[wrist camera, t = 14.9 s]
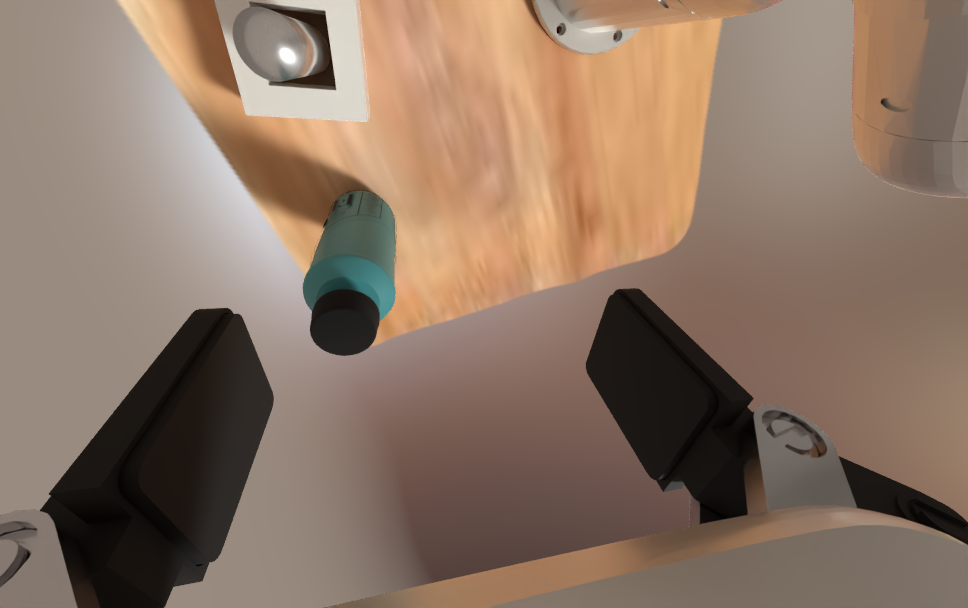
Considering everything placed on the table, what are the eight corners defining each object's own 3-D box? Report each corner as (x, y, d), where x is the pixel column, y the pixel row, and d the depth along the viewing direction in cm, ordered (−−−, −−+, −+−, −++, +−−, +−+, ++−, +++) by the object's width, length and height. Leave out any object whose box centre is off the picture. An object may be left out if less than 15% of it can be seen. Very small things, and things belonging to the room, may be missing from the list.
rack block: (357, -16, 27) (352, -26, 23) (370, 115, 32) (367, 122, 29) (225, -35, 25) (200, -48, 21) (262, 108, 30) (246, 115, 27)
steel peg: (326, 25, 28) (293, 10, 19) (333, 76, 30) (306, 83, 21) (279, 20, 27) (223, 2, 18) (290, 72, 29) (243, 79, 20)
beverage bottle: (356, 169, 34) (321, 268, 18) (409, 212, 38) (419, 326, 22) (319, 217, 36) (258, 343, 20) (373, 253, 40) (357, 386, 24)
